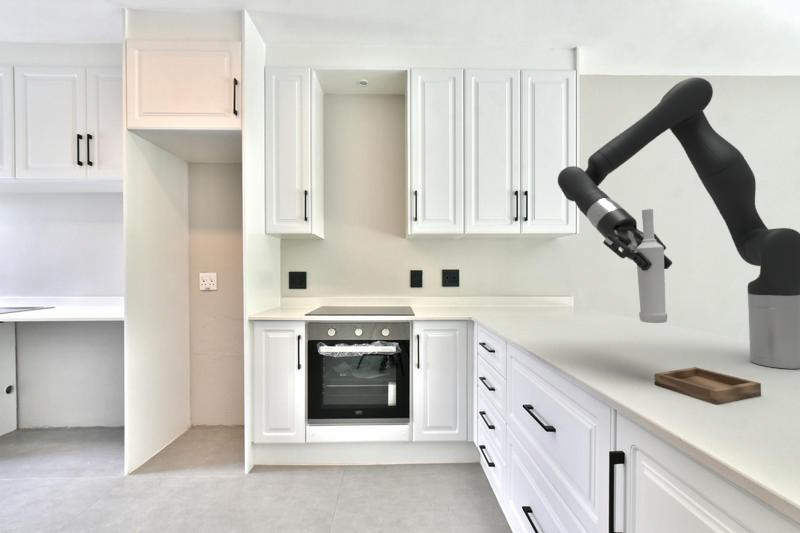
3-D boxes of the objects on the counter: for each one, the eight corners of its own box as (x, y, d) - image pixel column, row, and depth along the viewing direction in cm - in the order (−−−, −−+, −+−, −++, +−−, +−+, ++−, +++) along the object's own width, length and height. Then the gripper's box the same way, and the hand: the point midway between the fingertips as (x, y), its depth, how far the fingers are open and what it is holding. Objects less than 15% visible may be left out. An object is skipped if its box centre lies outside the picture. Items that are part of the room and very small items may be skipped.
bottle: (672, 322, 78) (666, 207, 78) (645, 323, 79) (639, 209, 79) (660, 319, 83) (654, 210, 83) (635, 319, 84) (629, 212, 84)
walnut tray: (695, 377, 82) (695, 367, 82) (761, 395, 70) (760, 383, 70) (654, 384, 78) (654, 373, 78) (716, 404, 67) (716, 391, 67)
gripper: (594, 207, 86) (643, 256, 75) (641, 207, 90) (695, 252, 79) (579, 232, 91) (622, 281, 80) (624, 230, 95) (672, 276, 84)
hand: (658, 266), depth 79 cm, fingers closed on bottle, 5 cm apart
